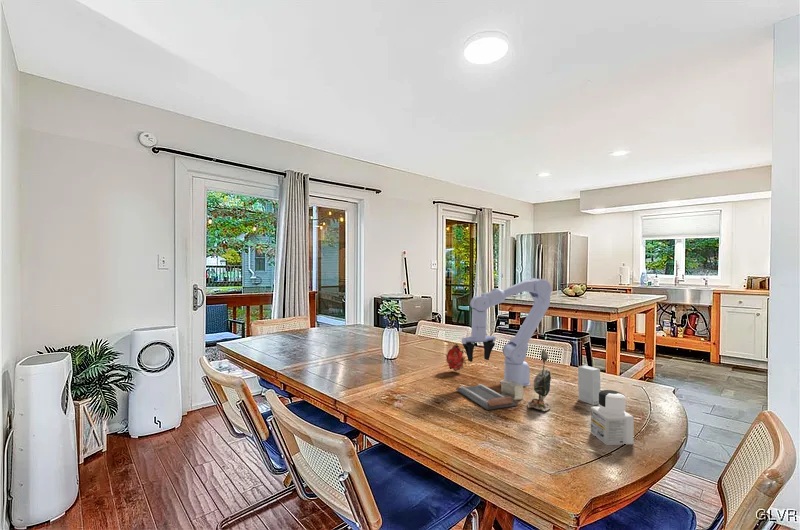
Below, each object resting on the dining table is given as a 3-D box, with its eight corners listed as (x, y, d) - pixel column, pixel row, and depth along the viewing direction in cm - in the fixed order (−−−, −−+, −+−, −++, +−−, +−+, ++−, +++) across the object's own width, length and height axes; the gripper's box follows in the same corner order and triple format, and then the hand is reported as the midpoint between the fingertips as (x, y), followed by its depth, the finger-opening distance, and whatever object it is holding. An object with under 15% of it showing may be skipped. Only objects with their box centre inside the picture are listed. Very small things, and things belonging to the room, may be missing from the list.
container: (590, 433, 111) (590, 387, 111) (615, 432, 112) (616, 387, 112) (606, 445, 104) (607, 397, 103) (633, 445, 104) (634, 396, 104)
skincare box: (601, 403, 134) (601, 369, 134) (592, 405, 132) (593, 370, 132) (585, 398, 140) (586, 364, 140) (577, 400, 138) (577, 366, 138)
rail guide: (482, 386, 151) (482, 379, 151) (517, 405, 132) (517, 397, 132) (455, 389, 147) (455, 383, 147) (487, 410, 127) (487, 402, 127)
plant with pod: (558, 405, 132) (559, 346, 132) (544, 414, 124) (545, 352, 124) (535, 399, 138) (536, 343, 138) (520, 407, 130) (521, 348, 130)
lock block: (508, 392, 145) (508, 379, 145) (523, 398, 139) (523, 384, 139) (500, 394, 143) (500, 380, 143) (514, 400, 137) (514, 386, 137)
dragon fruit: (461, 375, 166) (461, 347, 166) (442, 372, 170) (443, 345, 170) (468, 370, 173) (468, 343, 173) (450, 367, 177) (450, 341, 177)
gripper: (488, 323, 161) (488, 356, 161) (457, 325, 155) (457, 359, 155) (498, 326, 154) (498, 360, 154) (467, 328, 149) (466, 363, 149)
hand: (478, 360), depth 154 cm, fingers open, 7 cm apart
